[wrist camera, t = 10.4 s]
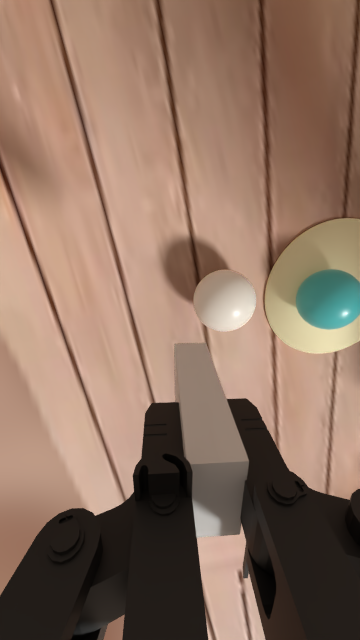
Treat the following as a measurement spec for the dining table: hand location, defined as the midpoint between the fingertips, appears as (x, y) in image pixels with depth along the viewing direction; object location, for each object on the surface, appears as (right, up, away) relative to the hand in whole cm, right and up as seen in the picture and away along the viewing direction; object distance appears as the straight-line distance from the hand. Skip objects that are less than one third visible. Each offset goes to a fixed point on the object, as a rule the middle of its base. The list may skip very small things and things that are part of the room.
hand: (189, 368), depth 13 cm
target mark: (+15, +5, +14) cm, 21 cm away
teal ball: (+13, +4, +11) cm, 18 cm away
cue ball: (+3, +4, +11) cm, 12 cm away
